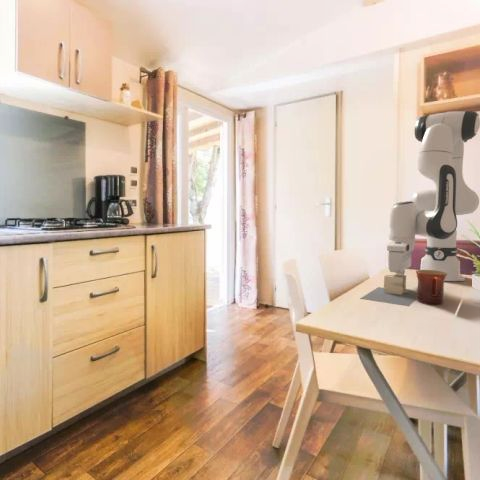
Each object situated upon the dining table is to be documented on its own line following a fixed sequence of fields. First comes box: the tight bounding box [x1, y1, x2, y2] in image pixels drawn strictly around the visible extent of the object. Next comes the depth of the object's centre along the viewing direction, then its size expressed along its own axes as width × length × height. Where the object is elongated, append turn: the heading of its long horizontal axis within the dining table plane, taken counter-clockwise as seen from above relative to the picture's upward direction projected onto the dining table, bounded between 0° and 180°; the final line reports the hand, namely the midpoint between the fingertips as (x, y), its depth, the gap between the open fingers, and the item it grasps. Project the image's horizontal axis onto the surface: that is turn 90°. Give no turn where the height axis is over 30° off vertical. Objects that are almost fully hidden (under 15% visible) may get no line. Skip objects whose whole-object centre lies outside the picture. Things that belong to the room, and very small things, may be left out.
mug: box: [415, 269, 447, 306], centre depth 108 cm, size 12×9×10 cm
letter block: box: [383, 273, 407, 295], centre depth 123 cm, size 6×6×6 cm
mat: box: [359, 286, 418, 307], centre depth 119 cm, size 22×15×1 cm
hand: (400, 281), depth 130 cm, fingers closed
